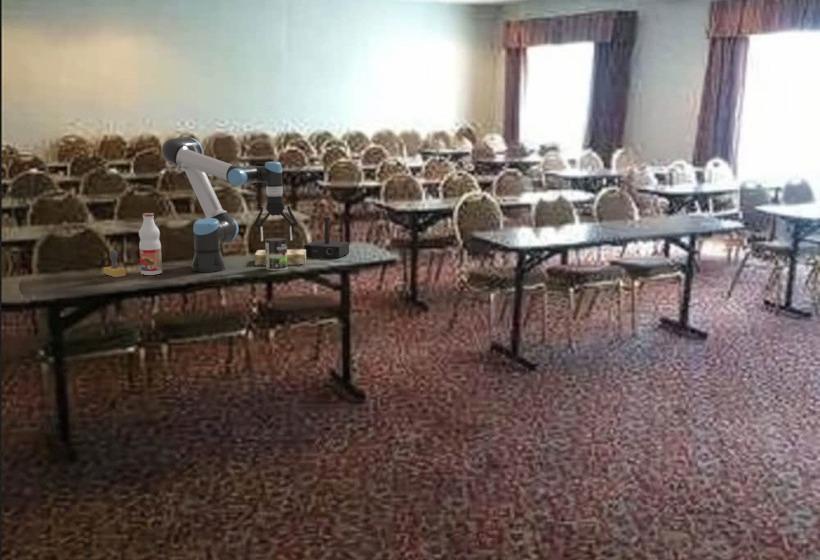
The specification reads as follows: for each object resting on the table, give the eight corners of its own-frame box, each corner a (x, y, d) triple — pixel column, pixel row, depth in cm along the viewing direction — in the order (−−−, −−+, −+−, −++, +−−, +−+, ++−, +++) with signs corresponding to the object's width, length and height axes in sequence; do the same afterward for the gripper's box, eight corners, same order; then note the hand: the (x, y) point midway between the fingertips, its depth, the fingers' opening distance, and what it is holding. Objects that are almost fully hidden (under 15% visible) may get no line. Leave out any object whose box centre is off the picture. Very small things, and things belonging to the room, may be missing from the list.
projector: (302, 257, 443) (301, 218, 439) (315, 252, 458) (314, 214, 454) (337, 259, 437) (337, 220, 433) (349, 254, 453) (349, 215, 449)
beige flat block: (255, 265, 421) (254, 255, 420) (257, 259, 435) (257, 250, 434) (305, 264, 423) (304, 254, 422) (306, 259, 437) (305, 249, 436)
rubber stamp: (126, 276, 395) (124, 250, 392) (114, 278, 391) (112, 252, 388) (115, 273, 402) (113, 247, 399) (103, 275, 398) (101, 249, 395)
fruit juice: (166, 274, 399) (162, 213, 393) (147, 277, 393) (143, 215, 387) (156, 271, 406) (152, 211, 400) (137, 274, 400) (133, 213, 394)
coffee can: (292, 268, 415) (291, 238, 412) (276, 271, 407) (275, 241, 404) (277, 265, 421) (276, 236, 418) (261, 268, 413) (260, 239, 410)
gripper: (246, 196, 402) (249, 242, 406) (301, 195, 404) (303, 241, 408) (248, 195, 409) (250, 239, 413) (302, 194, 411) (303, 238, 415)
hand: (276, 240), depth 411 cm, fingers open, 13 cm apart
